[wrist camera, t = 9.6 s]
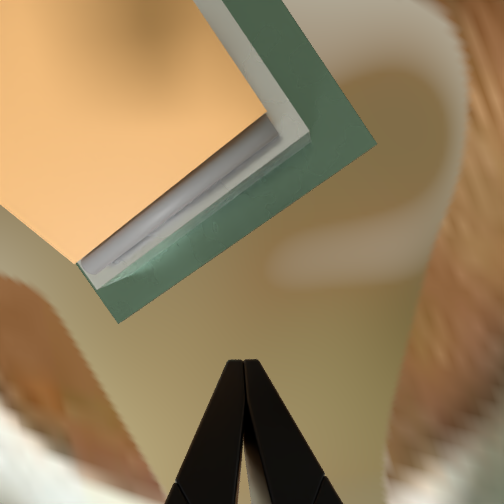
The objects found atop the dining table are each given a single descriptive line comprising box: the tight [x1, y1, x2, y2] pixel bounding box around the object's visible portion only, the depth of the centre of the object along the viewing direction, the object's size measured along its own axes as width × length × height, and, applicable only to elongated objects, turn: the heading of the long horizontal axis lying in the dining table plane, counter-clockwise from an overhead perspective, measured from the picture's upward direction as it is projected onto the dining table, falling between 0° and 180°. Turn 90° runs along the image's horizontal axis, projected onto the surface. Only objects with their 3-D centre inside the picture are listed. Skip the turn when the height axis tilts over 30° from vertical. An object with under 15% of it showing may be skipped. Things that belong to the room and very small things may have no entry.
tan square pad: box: [0, 0, 279, 275], centre depth 13 cm, size 1×11×9 cm
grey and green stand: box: [76, 0, 377, 324], centre depth 14 cm, size 16×18×11 cm
